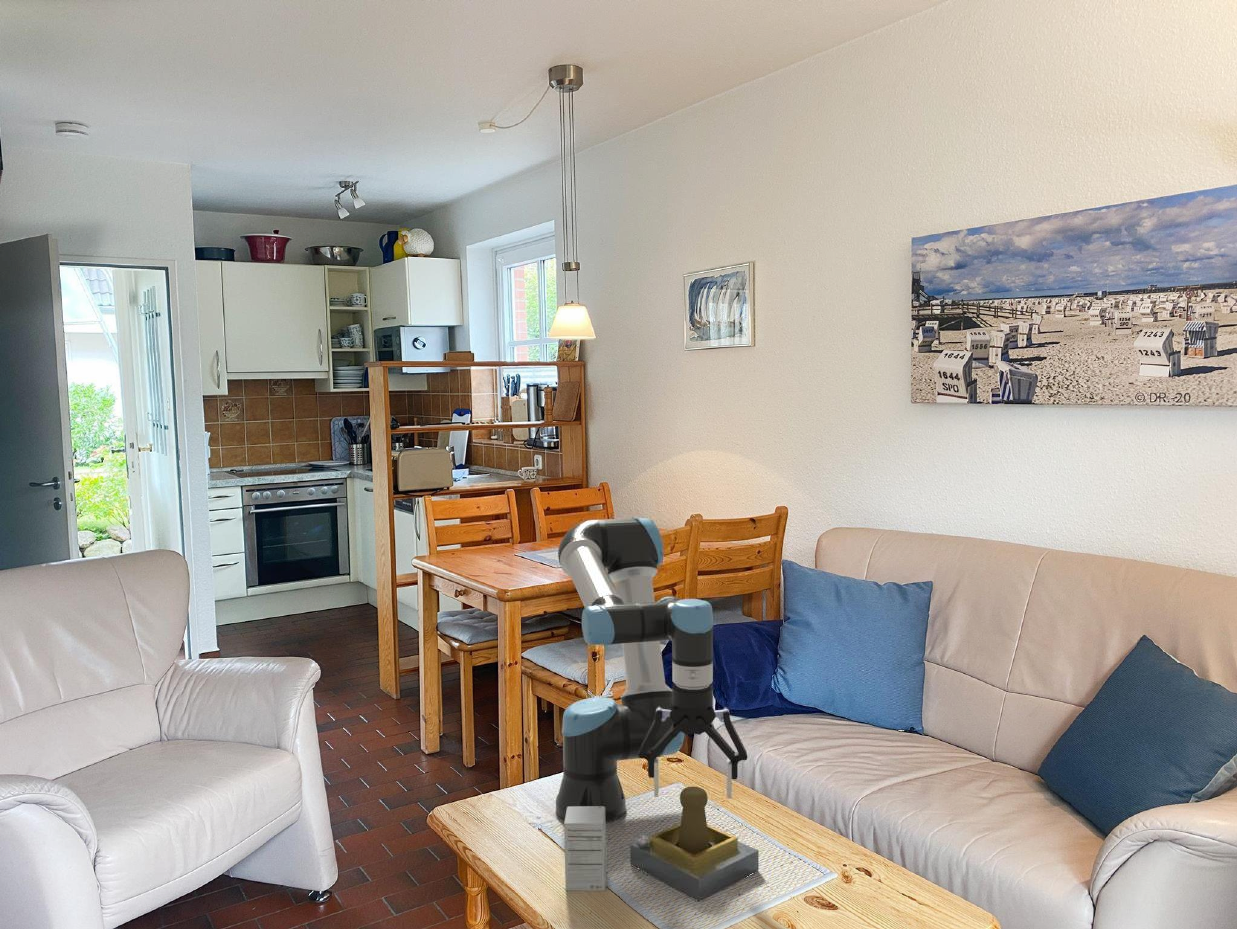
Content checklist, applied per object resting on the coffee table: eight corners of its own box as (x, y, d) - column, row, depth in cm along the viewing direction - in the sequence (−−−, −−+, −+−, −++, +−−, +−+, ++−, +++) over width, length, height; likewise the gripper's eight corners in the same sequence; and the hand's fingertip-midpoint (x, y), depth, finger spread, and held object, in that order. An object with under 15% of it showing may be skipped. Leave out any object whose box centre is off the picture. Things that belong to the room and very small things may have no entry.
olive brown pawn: (708, 855, 169) (707, 796, 169) (675, 852, 170) (675, 794, 170) (711, 840, 175) (711, 783, 175) (680, 837, 176) (679, 781, 176)
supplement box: (567, 871, 172) (566, 805, 172) (607, 871, 172) (606, 805, 171) (564, 891, 165) (563, 822, 164) (605, 891, 165) (604, 822, 164)
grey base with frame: (630, 864, 174) (630, 833, 174) (689, 838, 185) (689, 809, 185) (699, 902, 161) (698, 868, 161) (758, 871, 171) (758, 839, 171)
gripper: (624, 689, 168) (625, 801, 170) (761, 691, 166) (761, 804, 168) (626, 676, 176) (627, 784, 177) (758, 678, 174) (757, 787, 175)
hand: (692, 794), depth 173 cm, fingers open, 13 cm apart
